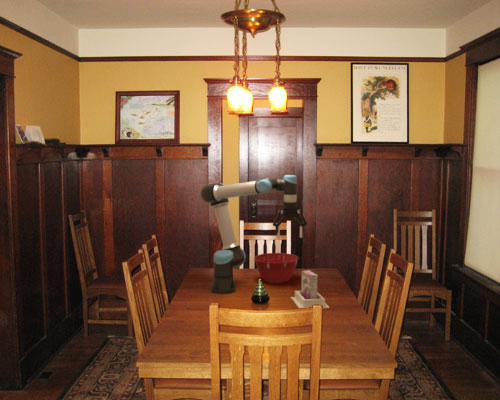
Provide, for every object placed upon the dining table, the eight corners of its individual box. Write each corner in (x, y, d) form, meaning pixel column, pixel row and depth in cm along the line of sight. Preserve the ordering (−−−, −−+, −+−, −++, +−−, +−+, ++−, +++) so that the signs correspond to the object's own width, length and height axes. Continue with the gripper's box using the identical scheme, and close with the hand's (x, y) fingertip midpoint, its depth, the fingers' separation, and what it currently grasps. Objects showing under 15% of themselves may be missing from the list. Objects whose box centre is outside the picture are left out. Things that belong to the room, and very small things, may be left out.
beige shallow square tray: (300, 309, 246) (300, 301, 246) (290, 297, 266) (290, 290, 265) (329, 308, 249) (329, 299, 248) (317, 296, 269) (317, 288, 268)
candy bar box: (300, 299, 262) (301, 270, 260) (308, 298, 263) (309, 269, 262) (309, 305, 251) (309, 275, 249) (317, 304, 253) (318, 274, 251)
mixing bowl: (248, 284, 292) (248, 260, 290) (261, 273, 319) (261, 251, 317) (292, 289, 283) (292, 264, 281) (302, 276, 310) (302, 254, 308)
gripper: (270, 202, 265) (270, 239, 268) (312, 202, 270) (312, 238, 272) (267, 201, 273) (267, 237, 275) (308, 200, 277) (308, 235, 279)
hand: (289, 237), depth 273 cm, fingers open, 13 cm apart
